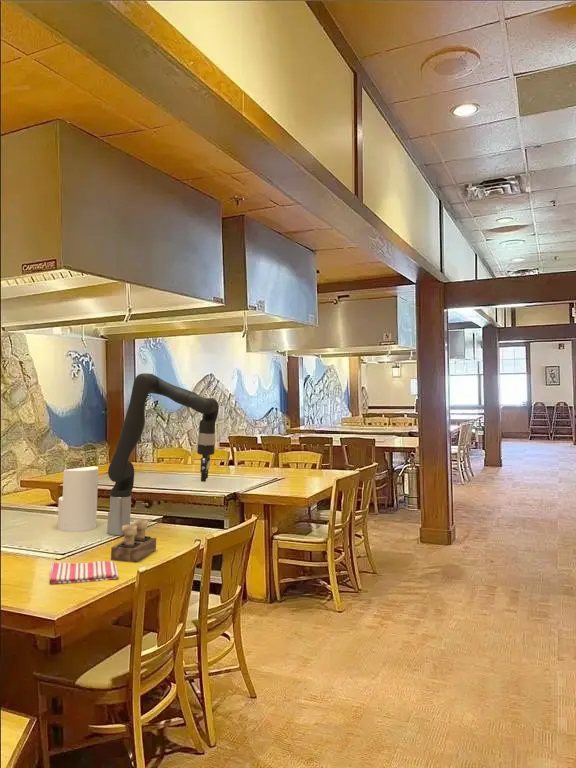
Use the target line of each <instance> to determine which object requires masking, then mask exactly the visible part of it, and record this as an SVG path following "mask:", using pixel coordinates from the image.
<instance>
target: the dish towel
mask: <svg viewBox="0 0 576 768" xmlns="http://www.w3.org/2000/svg"><path fill="white" fill-rule="evenodd" d="M110 579H113V580H117V579H119V573H118V567H117V564H116V562H114V561H113V560H111V561H106V560H103V561H102V560H99V561H98V560H97V561H92V562H82V563H79V562H77V563H71V562H59V563H58V562H56V561H54V562H52V563H51V564H50V570H49V582H51V585H62V584H63V585H66V584H76V583H79V584H80V583H90V582H102V580H106V581H111V580H110Z"/></svg>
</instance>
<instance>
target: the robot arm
mask: <svg viewBox="0 0 576 768" xmlns="http://www.w3.org/2000/svg"><path fill="white" fill-rule="evenodd" d="M149 394H150V395H151V394H155V395H160V396H162V397H163V396H164V397H166V398H168V399H170V400H171V401H173V402H175V403H176V404H179V405H181V406H184V407H187V408H190V409H192V410H194V411H195V412H197V413H199V414H202V419H201V420H200V421H199V424H198V425H199V427H198V436H197V448H196V449H197V454H198V455H202V457H201V458H200V460H199V461H200V464H199V465H200V466H199V467H200V468H199V469H200V470H199V471H200V474H201V475H200V482H202V483H206V482H207V479H208V478H209V470H210V465H211V463H210V462H211V458H210V457H211V456H212V455H215V447H216V446H215V445H216V421H217V419H218V414H219V403H218V401H217V399H215V398H212V397H204V396H201V395H199V394H197V392H194V391H191V390H189V389H185V388H182V387H180V386H177V385H174V384H172V383H169V382H167V381H165V380H163V379H162V378H161V377H158V376H157V375H155V374H153V373H147V372H146V373H139V374H137V376H136V377H134V380H133V384H132V389H131V395H130V400H129V404H128V407H127V411H126V414H125V418H124V421H123V424H122V426H121V427H122V428H121V430H120V436H119V439H118V441H117V445H116V448H115V452H114V454H113V456H112V458H111V461H110V464H109V465H108V470H107V475H108V478H109V479H110V481H111V482H113V483H114V485H113V487H112V488H111V489H110V494H109V495H110V499H109V502H110V503H109V512H107V524H106V525H107V526H106V527H107V528H106V529H107V530H106V531H107V532H106V534H109V535H110V536H111V535H112V536H123V535H122V526H124V525H131V514H132V513H131V508H132V492H133V489H134V482H135V467H134V464H133V462H131V460H129V459H130V456H131V454H132V452H133V450H135V447H136V446H137V444H138V443H139V442H140V440H141V437H142V435H143V431H144V428H145V425H146V424H145V423H146V415H145V414H146V413H145V405H146V402H147V398H148V396H149Z"/></svg>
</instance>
